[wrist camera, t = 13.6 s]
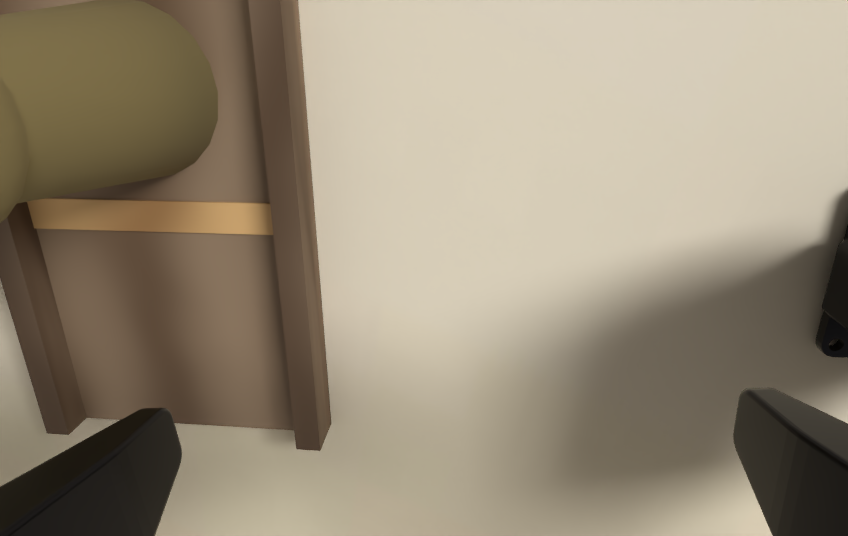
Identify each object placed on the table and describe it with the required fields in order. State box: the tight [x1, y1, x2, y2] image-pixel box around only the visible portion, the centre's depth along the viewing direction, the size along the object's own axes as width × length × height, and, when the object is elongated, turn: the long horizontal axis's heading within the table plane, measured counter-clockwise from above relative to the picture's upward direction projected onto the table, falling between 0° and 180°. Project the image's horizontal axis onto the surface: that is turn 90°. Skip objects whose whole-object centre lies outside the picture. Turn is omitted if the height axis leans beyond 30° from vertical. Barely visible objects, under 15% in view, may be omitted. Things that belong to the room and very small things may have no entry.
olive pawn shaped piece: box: [0, 0, 218, 223], centre depth 15 cm, size 6×6×11 cm
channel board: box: [0, 0, 331, 451], centre depth 21 cm, size 12×21×2 cm, turn 0°
